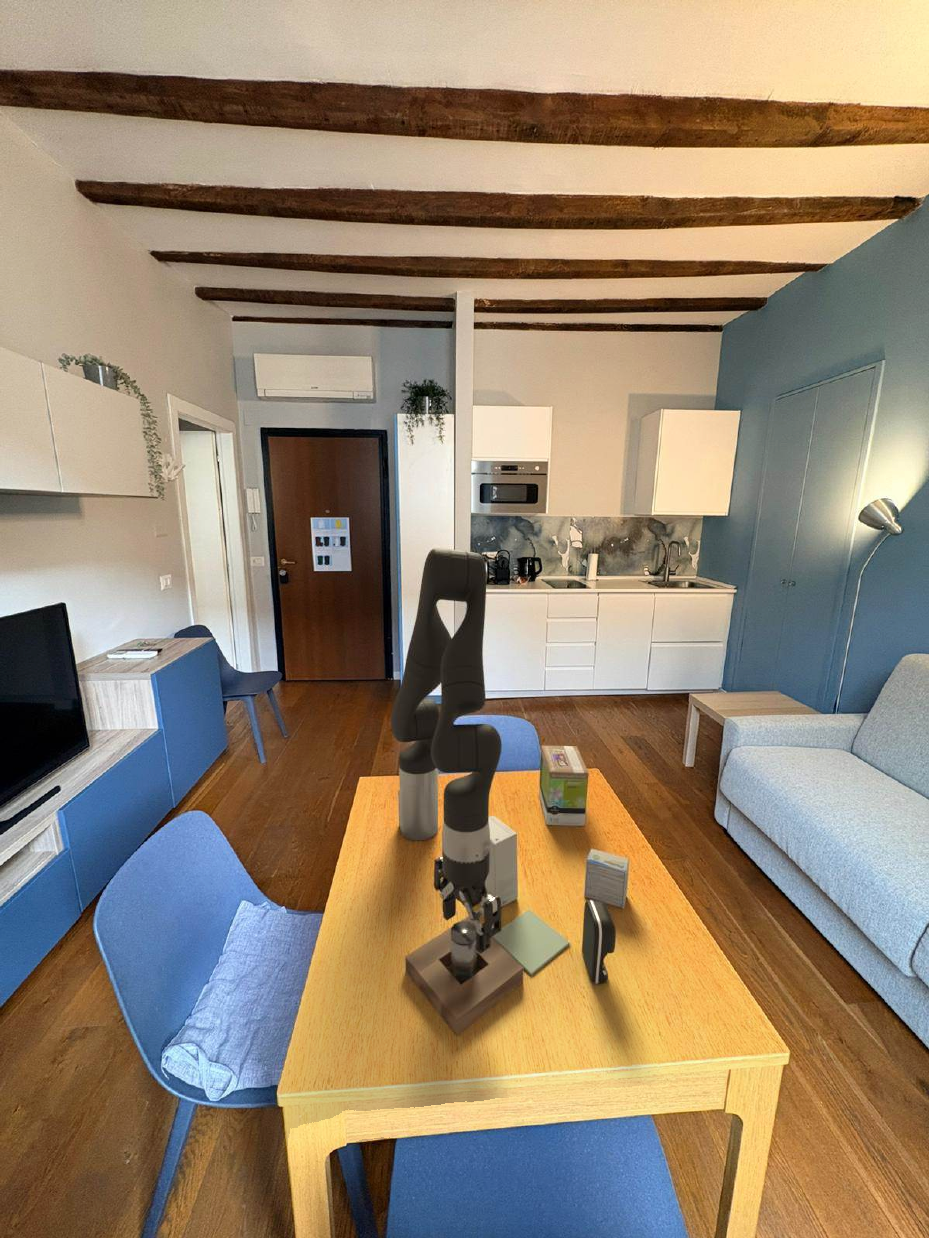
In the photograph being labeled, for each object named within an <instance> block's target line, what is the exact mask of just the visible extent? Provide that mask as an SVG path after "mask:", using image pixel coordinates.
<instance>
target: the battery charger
mask: <svg viewBox="0 0 929 1238" xmlns="http://www.w3.org/2000/svg"><path fill="white" fill-rule="evenodd" d="M582 924H583V927H582V943H581V954H582V956H583V960H584V963H585V967H586V970H587V973H588V976H589V979H590V983H592V984H596V985H597V984H602V983H606V982H608V980H609V973H608V970H607V967H606V964H605V962H604V960H605V958H606V957H607V956H608V954H613V953H614V952H615V949H616V937H617V933H616V931H617V929H616V925H615V922H614V919H613V917H612V914H611V912H610V910H609V908H608V904H606V903H605V902H603V901H596V900H593V899H589V900H586V901H585V903H584V911H583V923H582Z"/></svg>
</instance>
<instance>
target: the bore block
mask: <svg viewBox="0 0 929 1238" xmlns="http://www.w3.org/2000/svg"><path fill="white" fill-rule="evenodd" d="M461 921H468V922H471V923H473V924H474V921H473V920H471V919H470V918H469V916H468V915H467V916H466V917H465V918H463V919H462V920H461ZM474 925H475V924H474ZM451 928H452V926H451V927H449V928H448V929H446V930H444V931H443V932H441V933H439V934H438V935H437V936H434V938H432V939H431V940H429V941H427V942H425V943H424V944H423V945H421V946H420V947H418V948H416V949H415V950H413V951H412V952H410V953H409V954H407V955H405V956H404V957H405V958H404V959H405V960H404V961H405V962H404V963H405V973H406V974H407V975H408V976H409V978H411V980H412V981H413V983H414V984H415V985H416V986H417V988H418V989H419V991H421V993H422V994H423V996H424V997H425V998H426V999H427V1000H428V1002H429V1003H430V1004H431V1006H432V1007H433V1008H434V1009H435V1010H436V1012H437V1013H438V1015H440V1016H441V1019H442V1020H444V1022H445V1023H446V1025H448V1026H449V1028H450V1029H451V1031H453V1033H454V1035H456V1037H458V1036H459V1035H460V1034H461V1033H462V1032H464V1031H465V1030H466V1029H468V1028H469V1027H470V1026H471V1025H473V1024H474V1023H475V1022H477V1021H478V1019H480V1018H481V1017H482V1016H484V1015H485V1014H486V1013H487V1012H488V1011H489V1010H491V1009H492V1008H493V1007H494V1006H496V1005H498V1003H499V1002H501V1001H502V1000H503V999H504V998H505V997H507V996H509V995H510V994H511V993H512V992H513V991H514V990H515V989H517V988H518V987H519V986H521V985H522V984H523V983H524V968H523V967H522V966H521V965H520V964H519V963H518V962H517V961H516V960H515V959H514V958H513V957H512V956H511V955H510V954H509V953H508V952H507V951H506V950H505V949H504V948H502V947H501V946H500V945H499V944H498V943H497V942H496V941H495V940H494V939H493V938H491V946H490V948H488V949H487V950H485V951H484V952H482V953H479V952H478V951H477V969H478V970H479V971H477V974H475V975H474V976H473V977H471V978H470V979H469V980H467V981H466V982H464V983H463V984H462V985H461V984H460V983H459V982H458V981H457V980H456V979H455V978H454V976H453V975H452V974H451V971H449V968H451Z"/></svg>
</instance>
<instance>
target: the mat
mask: <svg viewBox="0 0 929 1238" xmlns="http://www.w3.org/2000/svg"><path fill="white" fill-rule="evenodd" d="M501 928H502V930H501V931H500V932H499V933H497V934H496V935H494V936H493V937H492V938H493V939H494V940H495V941H496V942H497V943H498V944H499V945H500V946H501V947H502V948H504V949H505V950H506V951H507V952H508V953H509V954H510V955H511V956H512V957H513V958H514V959H515V960H516V961H517V962H518V963H519V964H520V965H521V966H522V967H523V970H524V971H525V972H527V974H529V975H530V976H533V975H534V974H535V973H536V972H538V971H539V970H540V969H541V968H543V967H544V966H545V965H546V964H547V963H549V962H550V961H551V960H552V959H554V958H555V957H556V956H558V955H559V954H560V953H561V952H562V951H564V950H565V949H566V948H567V947H568V946H570V943H571V942H570V941H569V940H568V939H566V938H565V937H564V936H563V935H561V934H560V933H559V932H558V931H557V930H555V929H554V928H553V927H551V926H550V925H549V924H548V923H546V922H545V921H544V920H543V919H542V918H540V917H539V916H538V915H537V914H536V913H535V912H533V911H532V910H531V909H529V908H528V909H527V910H525V912H523V913H521V914H520V915H518V916H517V917H516V918H514V919H513V920H512V921H510V922H509V923H506V925H504V926H503V927H501Z"/></svg>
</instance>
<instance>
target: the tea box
mask: <svg viewBox="0 0 929 1238" xmlns="http://www.w3.org/2000/svg"><path fill="white" fill-rule="evenodd" d="M588 785H589V770H588V768H587V766H586V764H585V761H584V760H583V757H582V755H581V753H580V751H579V748H578V746H575V745H574V746H573V745H541V751H540V769H539V785H538V787H539V788H538V794H539V798H540V802H541V807H542V811H543V815H544V816H543V817H544V820H545V823H546V825H547V826H565V827H566V826H569V827H570V826H571V827H573V826H575V827H578V826H580V827H584V826H585V824H586V812H587V811H586V810H587V798H588V787H589V786H588Z"/></svg>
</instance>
